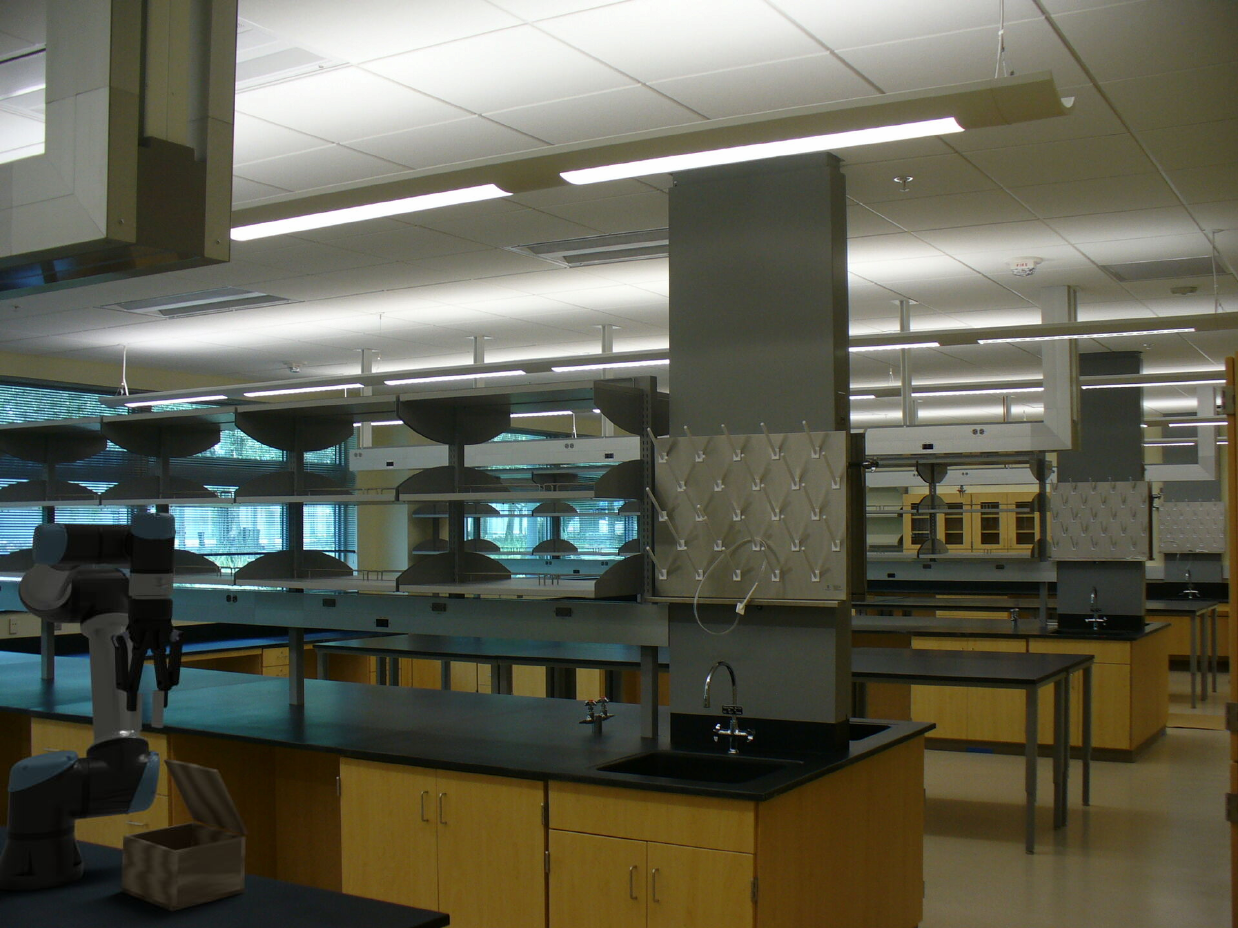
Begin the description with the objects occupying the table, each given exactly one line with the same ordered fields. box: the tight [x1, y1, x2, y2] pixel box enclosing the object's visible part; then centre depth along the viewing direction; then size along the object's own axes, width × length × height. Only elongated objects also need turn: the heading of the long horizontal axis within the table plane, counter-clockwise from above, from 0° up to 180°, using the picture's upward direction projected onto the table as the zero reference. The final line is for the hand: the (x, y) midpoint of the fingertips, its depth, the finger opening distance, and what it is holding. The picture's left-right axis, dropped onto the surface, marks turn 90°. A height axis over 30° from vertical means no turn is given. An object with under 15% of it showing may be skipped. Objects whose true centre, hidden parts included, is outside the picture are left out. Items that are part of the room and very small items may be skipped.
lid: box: [163, 758, 249, 836], centre depth 211 cm, size 18×14×1 cm
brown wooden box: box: [120, 821, 246, 912], centre depth 207 cm, size 18×14×10 cm
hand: (146, 727), depth 203 cm, fingers open, 3 cm apart
